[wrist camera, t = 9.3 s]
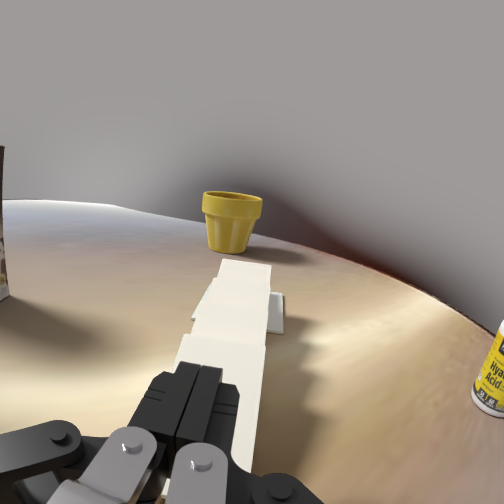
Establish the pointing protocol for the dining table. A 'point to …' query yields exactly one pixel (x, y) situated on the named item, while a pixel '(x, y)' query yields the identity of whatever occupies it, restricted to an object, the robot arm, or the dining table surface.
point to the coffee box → (0, 275)
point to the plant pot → (230, 220)
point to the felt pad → (273, 312)
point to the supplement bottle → (491, 379)
